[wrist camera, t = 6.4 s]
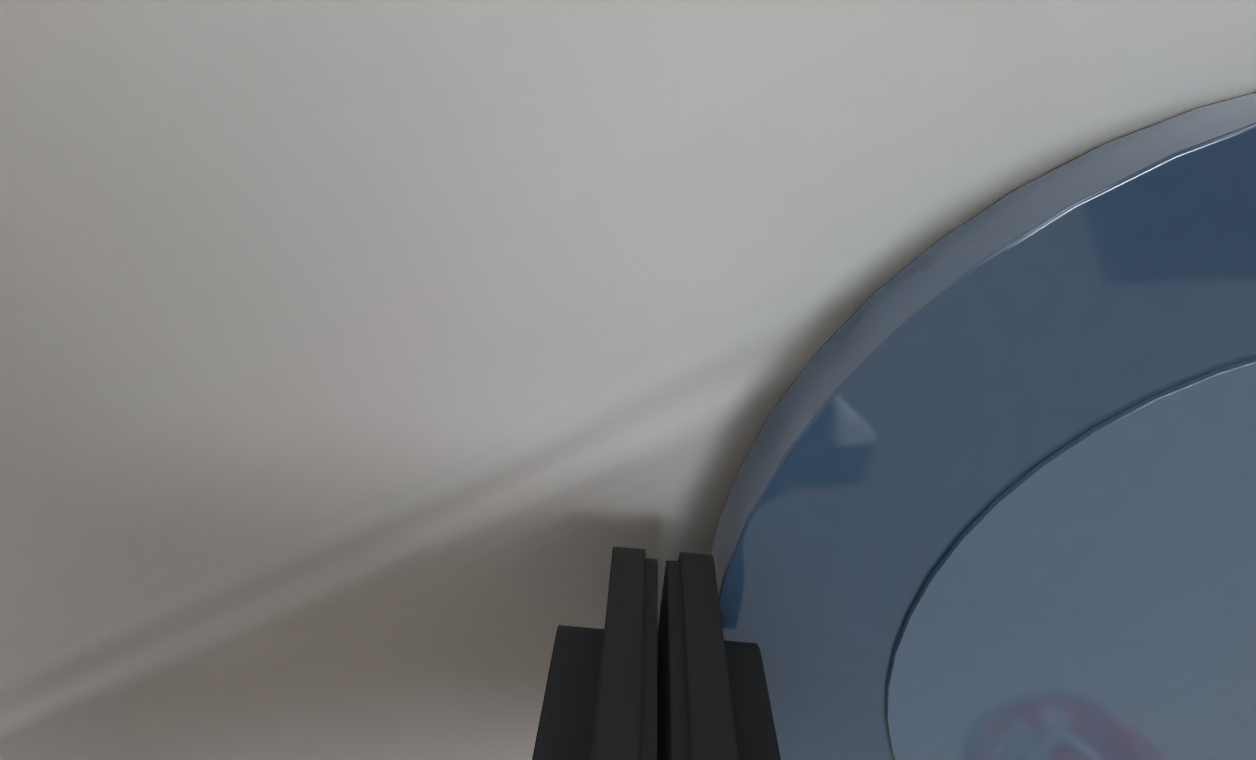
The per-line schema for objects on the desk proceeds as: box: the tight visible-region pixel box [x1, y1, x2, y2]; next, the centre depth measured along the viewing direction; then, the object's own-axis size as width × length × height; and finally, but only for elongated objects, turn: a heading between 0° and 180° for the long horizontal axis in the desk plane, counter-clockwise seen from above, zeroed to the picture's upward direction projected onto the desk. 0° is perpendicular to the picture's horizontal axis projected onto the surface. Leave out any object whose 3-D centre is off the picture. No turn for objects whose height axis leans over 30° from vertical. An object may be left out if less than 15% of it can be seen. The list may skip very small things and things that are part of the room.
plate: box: [711, 93, 1256, 760], centre depth 11 cm, size 18×18×2 cm
